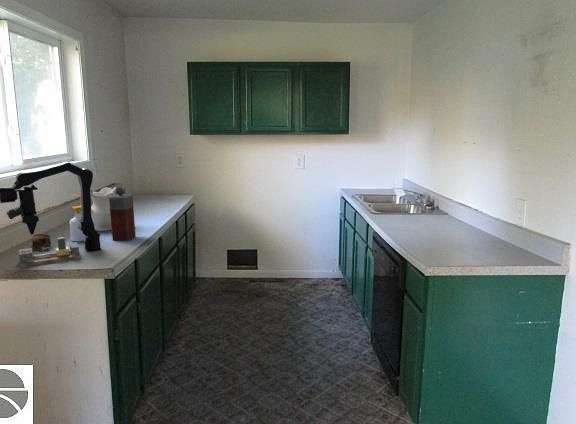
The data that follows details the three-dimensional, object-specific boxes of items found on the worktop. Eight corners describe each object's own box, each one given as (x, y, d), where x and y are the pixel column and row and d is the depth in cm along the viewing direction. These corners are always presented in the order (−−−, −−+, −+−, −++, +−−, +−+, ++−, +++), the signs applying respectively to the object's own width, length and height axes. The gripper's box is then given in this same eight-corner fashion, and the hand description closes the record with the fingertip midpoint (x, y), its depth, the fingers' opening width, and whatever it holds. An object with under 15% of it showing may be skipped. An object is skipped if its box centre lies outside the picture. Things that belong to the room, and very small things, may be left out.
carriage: (68, 252, 209) (66, 236, 208) (69, 254, 205) (67, 238, 203) (56, 253, 207) (54, 237, 205) (57, 256, 202) (55, 239, 201)
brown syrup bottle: (137, 235, 247) (133, 185, 241) (128, 240, 236) (124, 188, 230) (122, 235, 248) (117, 185, 242) (112, 240, 237) (107, 188, 231)
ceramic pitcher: (107, 236, 251) (106, 192, 246) (76, 232, 255) (75, 188, 250) (128, 227, 272) (128, 187, 267) (99, 224, 275) (98, 184, 270)
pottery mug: (25, 250, 221) (27, 234, 224) (42, 254, 229) (45, 239, 232) (40, 247, 216) (43, 230, 218) (58, 251, 224) (60, 235, 226)
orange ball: (29, 255, 200) (28, 249, 199) (29, 256, 198) (28, 251, 197) (23, 256, 199) (22, 250, 198) (23, 257, 197) (22, 251, 196)
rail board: (78, 252, 214) (77, 241, 213) (81, 258, 205) (80, 247, 204) (20, 261, 202) (18, 249, 201) (20, 267, 193) (19, 255, 192)
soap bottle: (69, 239, 240) (64, 194, 235) (87, 236, 246) (82, 192, 241) (73, 242, 233) (69, 196, 229) (92, 239, 239) (87, 194, 234)
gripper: (5, 199, 204) (10, 233, 207) (6, 205, 188) (11, 241, 191) (33, 197, 209) (38, 229, 212) (36, 202, 194) (41, 237, 197)
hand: (32, 234), depth 203 cm, fingers closed
